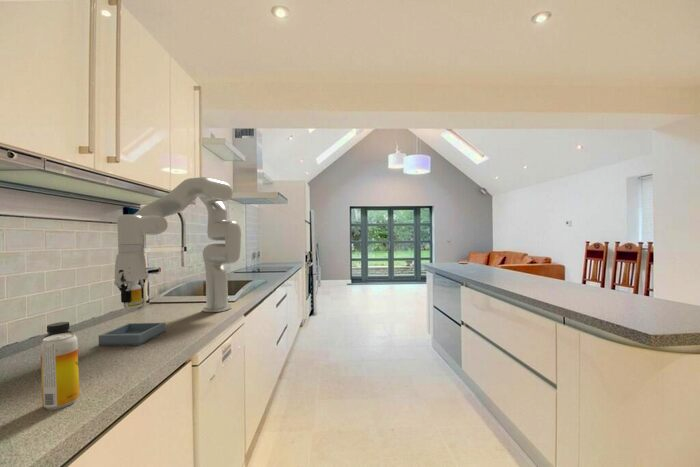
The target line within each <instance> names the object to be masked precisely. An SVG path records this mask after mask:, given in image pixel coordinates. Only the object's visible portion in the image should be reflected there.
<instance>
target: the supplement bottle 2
mask: <svg viewBox="0 0 700 467" xmlns="http://www.w3.org/2000/svg"><path fill="white" fill-rule="evenodd" d="M125 282H126V280H125ZM138 283H139V280H136V281H134V282H131V285H130V290H129V291H131V302H129V303H123V309H136V308H140V307H141V306H143V298H142V293H141V286H140V285H138ZM126 285H127V284H125V286H126Z"/></svg>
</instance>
